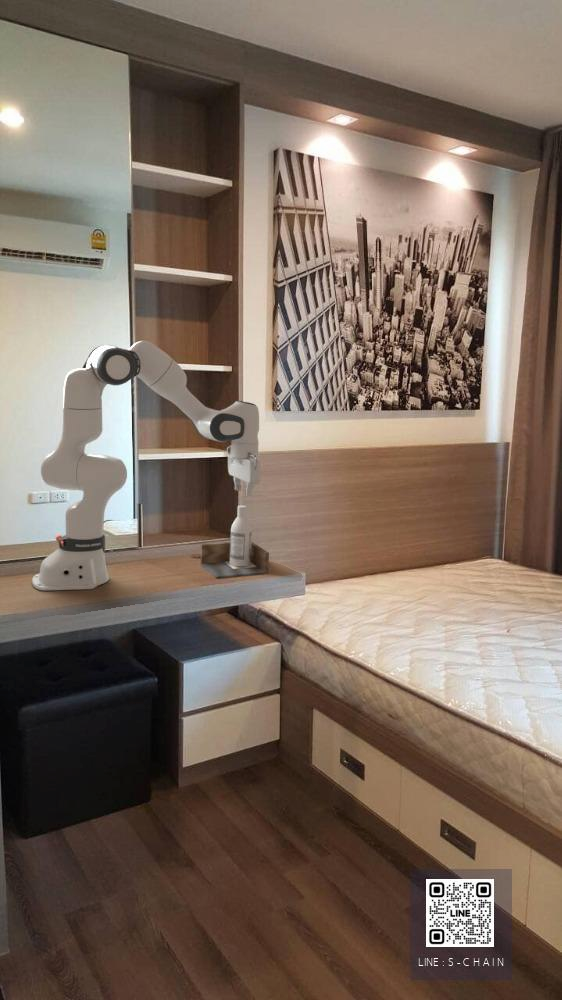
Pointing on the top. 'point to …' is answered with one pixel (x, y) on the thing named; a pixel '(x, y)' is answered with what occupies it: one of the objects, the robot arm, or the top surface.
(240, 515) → the bath foam
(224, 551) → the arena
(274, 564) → the top surface
